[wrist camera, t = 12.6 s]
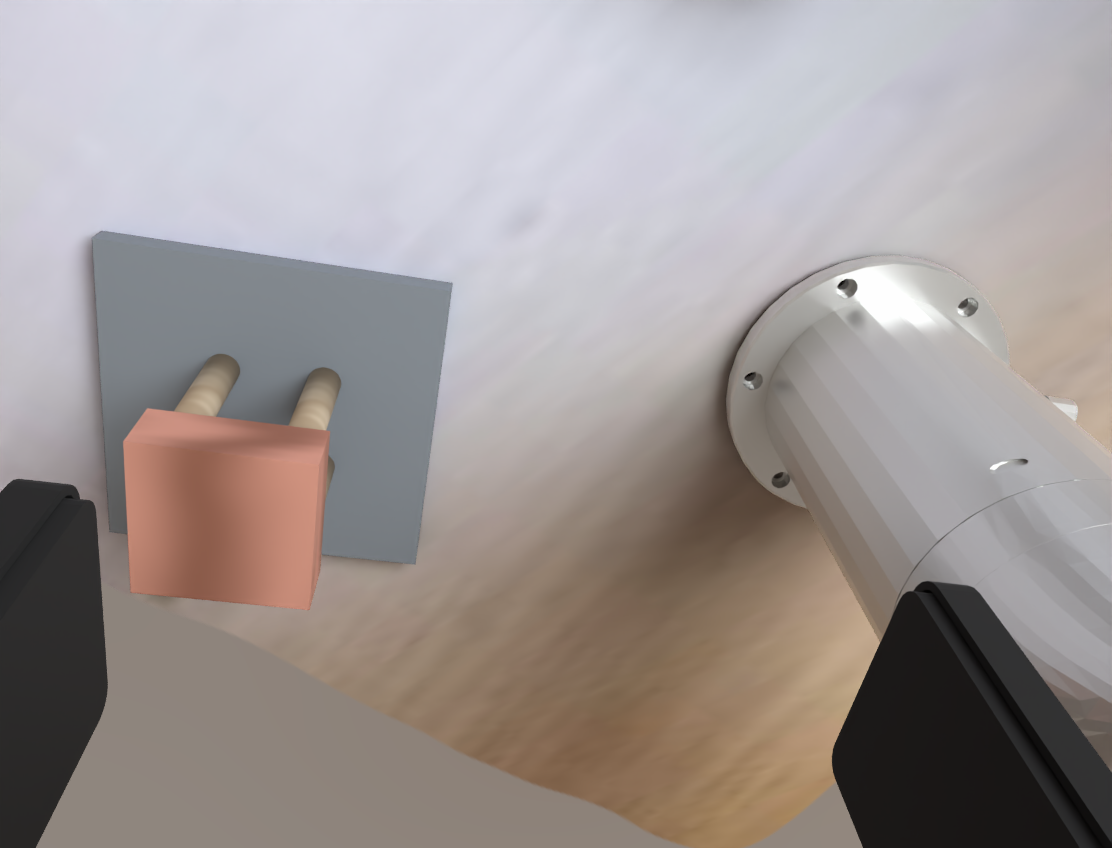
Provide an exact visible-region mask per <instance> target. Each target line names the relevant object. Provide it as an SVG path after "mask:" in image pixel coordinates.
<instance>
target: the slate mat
mask: <svg viewBox="0 0 1112 848" xmlns="http://www.w3.org/2000/svg"><path fill="white" fill-rule="evenodd" d="M92 248H93V264H94V281H95V297H96V314H97V331H98V347H99V364H100V381H101V397H102V414H103V430H104V447H105V464H106V480H107V497H108V514H109V530H110V532H114V533H123V534H128V530H127V509H126V489H125V469H124V449H123V441H124V440H125V438H126V437H127V436H128V434H129V433H130V431H131V430H132V429H133V427H134V426H135V425H136V423H137V422H138V420H139V419H140V418H141V416H142V415H143V414H144V412H145V411H146V409H147V408H149V409H157V410H165V411H174V410H175V408H176V407H177V405H178V404H179V402H180V401H181V399H182V398H183V397H184V395H185V394H186V392H187V391H188V389H189V388H190V386H191V385H192V383H193V382H194V380H195V379H196V377H197V376H198V374H199V373H200V371H201V370H202V368H203V367H204V365H205V364H206V362H207V361H208V359H209V358H210V357H211V356H213V355H216V354H226V355H229V356H231V357H232V358H234V359H235V360H236V361H237V363H238V364H239V367H240V375H239V377H238V379H237V381H236V383H235V384H234V386H233V388H232V390H231V391H230V393H229V395H228V397H227V398H226V400H225V402H224V403H223V405H222V407H221V409H220V410H219V412H218V414H217V416H216V417H222V418H230V419H238V420H246V421H254V422H262V423H270V424H278V425H286V426H288V425H289V422H290V420H291V418H292V415H293V413H294V410H295V408H296V406H297V403H298V401H299V398H300V396H301V394H302V391H303V389H304V386H305V384H306V382H307V379H308V377H309V375H310V373H311V372H312V371H313V370H315V369H317V368H322V367H324V368H329V369H332V370H333V371H335V372H336V373H337V374H338V375H339V377H340V379H341V388H340V391H339V394H338V397H337V400H336V403H335V406H334V409H333V412H332V415H331V418H330V421H329V424H328V426H327V429H326V431H330V441H329V455H328V456H330V457H331V458H332V460H333V461H334V464H335V470H334V473H333V476H332V480H331V483H330V487H329V490H328V493H327V497H326V500H325V510H324V524H323V538H322V552H321V555H331V556H340V557H350V558H359V559H368V560H378V561H387V562H397V563H406V564H415V563H416V556H417V548H418V541H419V533H420V525H421V518H422V510H423V503H424V495H425V488H426V480H427V473H428V465H429V458H430V450H431V442H432V435H433V427H434V420H435V412H436V405H437V397H438V390H439V382H440V374H441V367H442V359H443V352H444V344H445V337H446V329H447V322H448V314H449V306H450V299H451V291H452V283H448V282H441V281H435V280H428V279H421V278H415V277H408V276H401V275H394V274H388V273H381V272H374V271H368V270H361V269H354V268H348V267H341V266H334V265H327V264H321V263H314V262H307V261H301V260H294V259H287V258H280V257H274V256H267V255H260V254H254V253H247V252H240V251H234V250H227V249H220V248H213V247H207V246H200V245H193V244H187V243H180V242H173V241H166V240H160V239H153V238H146V237H140V236H133V235H126V234H120V233H113V232H106V231H101V232H100V233H98V234H97V235H96V236H94V237H93V238H92Z"/></svg>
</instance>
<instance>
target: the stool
mask: <svg viewBox="0 0 1112 848" xmlns="http://www.w3.org/2000/svg"><path fill="white" fill-rule="evenodd" d="M239 375H240V367H239V364H238V363H237V361H236V360H235V359H234V358H232V357H231V356H229V355H226V354H216V355H213V356H211V357H210V358H209V359H208V361H207V362H206V364H205V365H204V367H203V368H202V370H201V371H200V373H199V374H198V376H197V377H196V379H195V380H194V382H193V383H192V385H191V386H190V388H189V389H188V391H187V392H186V394H185V395H184V397H183V398H182V399H181V401H180V402H179V404H178V405H177V407H176V408H175V410H174V411H165V410H157V409H149V408H147V409H146V411H145V412H144V414H143V415H142V416H141V418H140V419H139V420H138V422H137V423H136V425H135V426H134V427H133V429H132V430H131V431H130V433H129V434H128V436H127V437H126V438H125V440H124V441H123V449H124V469H125V489H126V509H127V530H128V550H129V570H130V591H131V593H140V594H150V595H161V596H171V597H181V598H191V599H202V600H212V601H222V602H232V603H243V604H253V605H263V606H274V607H284V608H294V609H304V610H310V606H311V602H312V599H313V595H314V591H315V588H316V584H317V580H318V577H319V573H320V566H321V552H322V538H323V524H324V510H325V500H326V497H327V493H328V490H329V487H330V483H331V480H332V476H333V473H334V470H335V464H334V461H333V460H332V458H331V457H330V456H328V455H329V441H330V431H326V429H327V426H328V424H329V421H330V418H331V415H332V412H333V409H334V406H335V403H336V400H337V397H338V394H339V391H340V388H341V379H340V377H339V375H338V374H337V373H336V372H335V371H333V370H332V369H329V368H324V367H322V368H317V369H315V370H313V371H312V372H311V373H310V375H309V377H308V379H307V382H306V384H305V386H304V389H303V391H302V394H301V396H300V398H299V401H298V403H297V406H296V408H295V410H294V413H293V415H292V418H291V420H290V422H289V425H288V426H286V425H278V424H270V423H262V422H254V421H246V420H238V419H230V418H222V417H216V416H217V414H218V412H219V410H220V409H221V407H222V405H223V403H224V402H225V400H226V398H227V397H228V395H229V393H230V391H231V390H232V388H233V386H234V384H235V383H236V381H237V379H238V377H239Z"/></svg>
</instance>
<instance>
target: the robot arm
mask: <svg viewBox="0 0 1112 848" xmlns="http://www.w3.org/2000/svg"><path fill="white" fill-rule="evenodd" d="M844 279H845V282H844V284H843V285H841V286H838V285H839V283H840V282H841V281H843V280H844ZM961 302H962V303H961ZM751 372H753V374H752V375H751V376H749V377H745V376H746V375H747V374H749V373H751ZM726 408H727V422H728V426H729V429H730V432H731V436H732V439H733V442H734V445H735V447H736V449H737V451H738V453H739V455H740V457H741V459H742V461H743V463H744V464H745V466H746V467H747V468H748V470H749V471H750V472H751V474H752V475H753V476H754V478H755V479H756V480H757V481H758V482H759V483H760V484H761V485H762V486H764V487H765V488H766V489H767V490H768V491H769V492H771V493H772V494H774V495H776V496H778V497H780V498H781V499H783V500H785V501H787V502H789V503H791V504H793V505H796V506H799V507H803V508H806V509H808V511H809V513H810V514H811V516H812V518H813V520H814V522H815V524H816V525H817V527H818V529H819V531H820V533H821V535H822V536H823V538H824V540H825V542H826V544H827V546H828V547H829V549H830V551H831V553H832V555H833V557H834V558H835V560H836V562H837V564H838V566H839V568H840V569H841V571H842V573H843V575H844V577H845V579H846V580H847V582H848V584H849V586H850V588H851V590H852V591H853V593H854V595H855V597H856V599H857V601H858V602H859V604H860V606H861V608H862V610H863V612H864V613H865V615H866V617H867V619H868V621H869V623H870V625H871V626H872V628H873V630H874V632H875V634H876V636H877V637H878V639H879V641H880V644H879V647H878V649H877V651H876V653H875V656H874V658H873V660H872V662H871V665H870V667H869V669H868V671H867V673H866V676H865V678H864V680H863V682H862V685H861V687H860V689H859V691H858V693H857V696H856V698H855V700H854V702H853V705H852V707H851V709H850V711H849V713H848V716H847V718H846V720H845V722H844V725H843V727H842V729H841V731H840V733H839V736H838V738H837V740H836V742H835V745H834V748H833V754H832V767H833V773H834V776H835V779H836V782H837V784H838V787H839V789H840V791H841V794H842V797H843V799H844V802H845V804H846V807H847V809H848V811H849V814H850V816H851V819H852V821H853V824H854V826H855V829H856V831H857V834H858V836H859V839H860V841H861V843H862V846H863V848H1112V452H1110V451H1109V450H1108V449H1107V448H1106V447H1104V446H1103V445H1102V444H1101V443H1100V442H1098V441H1097V440H1096V439H1095V438H1094V437H1093V436H1091V435H1090V434H1089V433H1088V432H1087V431H1085V430H1084V429H1083V428H1082V427H1081V426H1079V425H1078V424H1077V423H1076V422H1075V421H1076V418H1077V415H1078V411H1077V405H1076V403H1075V402H1074V400H1071V399H1067V398H1060V397H1053V396H1047V395H1043V394H1041V393H1040V392H1039V391H1038V390H1037V389H1035V388H1034V387H1033V386H1032V385H1031V384H1029V383H1028V382H1027V381H1026V380H1025V379H1024V378H1022V377H1021V376H1020V375H1019V374H1018V373H1016V372H1015V371H1014V370H1013V369H1012V368H1010V355H1009V347H1008V339H1007V336H1006V333H1005V330H1004V328H1003V325H1002V322H1001V320H1000V317H999V315H998V314H997V312H996V311H995V310H994V308H993V307H992V305H991V304H990V302H989V301H988V299H987V298H986V297H985V296H984V295H983V294H982V293H981V292H980V291H978V290H977V289H976V288H975V287H974V286H973V285H972V284H970V283H969V282H968V281H967V280H965V279H964V278H962V277H961V276H959V275H958V274H956V273H955V272H953V271H952V270H950V269H948V268H946V267H943V266H941V265H938V264H936V263H933V262H931V261H928V260H925V259H919V258H913V257H907V256H901V255H889V256H869V257H865V258H860V259H855V260H851V261H846V262H842V263H840V264H837V265H835V266H832V267H830V268H827V269H825V270H822V271H820V272H817V273H815V274H814V275H812V276H810V277H809V278H807V279H805V280H804V281H802V282H800V283H799V284H797V285H795V286H794V287H792V288H791V289H789V290H788V291H787V292H786V293H785V294H784V295H783V296H781V297H780V298H779V299H778V300H777V301H776V302H774V303H773V304H772V305H771V306H770V307H769V308H768V309H767V310H766V311H765V312H764V314H763V315H762V316H761V317H760V318H759V320H758V321H757V322H756V323H755V325H754V326H753V327H752V328H751V330H750V331H749V333H748V335H747V337H746V338H745V340H744V342H743V344H742V345H741V347H740V349H739V351H738V352H737V355H736V358H735V361H734V364H733V367H732V370H731V372H730V375H729V381H728V388H727V396H726ZM107 683H108V682H107V667H106V652H105V637H104V622H103V608H102V592H101V578H100V563H99V548H98V533H97V518H96V509H95V506H94V503H93V502H92V501H90V500H81V499H80V497H79V493H78V491H77V489H76V487H74V486H73V485H68V484H60V483H51V482H42V481H33V480H24V479H16V480H13V481H11V482H10V483H9V484H8V485H7V486H6V487H5V488H4V489H3V490H2V491H1V493H0V848H36V846H37V844H38V842H39V840H40V838H41V836H42V834H43V832H44V830H45V828H46V826H47V824H48V822H49V820H50V818H51V816H52V814H53V812H54V810H55V808H56V806H57V804H58V802H59V800H60V798H61V796H62V794H63V792H64V790H65V788H66V786H67V783H68V782H69V780H70V778H71V776H72V774H73V772H74V770H75V768H76V766H77V764H78V762H79V760H80V758H81V756H82V754H83V752H84V750H85V748H86V746H87V744H88V742H89V740H90V738H91V736H92V734H93V732H94V730H95V728H96V726H97V724H98V722H99V720H100V717H101V715H102V712H103V709H104V706H105V702H106V697H107V688H108V686H107V685H108V684H107Z"/></svg>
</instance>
